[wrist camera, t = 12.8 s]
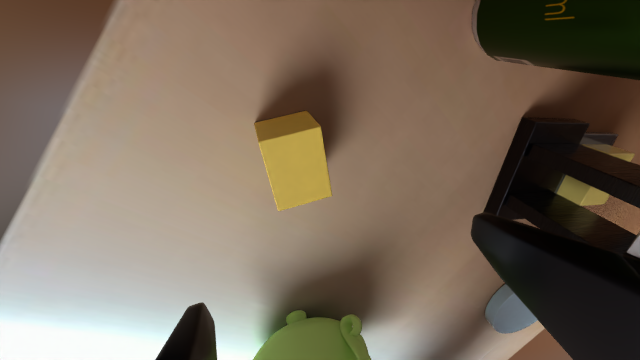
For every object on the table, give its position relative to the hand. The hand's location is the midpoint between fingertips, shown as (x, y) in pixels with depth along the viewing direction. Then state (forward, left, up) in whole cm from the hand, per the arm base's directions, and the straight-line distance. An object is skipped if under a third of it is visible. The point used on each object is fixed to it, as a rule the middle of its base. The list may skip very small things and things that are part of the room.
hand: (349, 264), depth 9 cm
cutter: (-6, -17, -10) cm, 21 cm away
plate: (-23, -20, -10) cm, 32 cm away
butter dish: (-8, -22, -10) cm, 26 cm away
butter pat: (0, 0, -10) cm, 10 cm away
